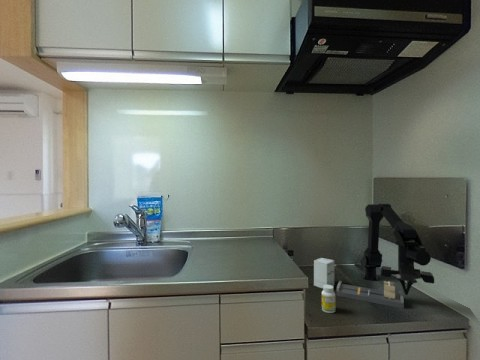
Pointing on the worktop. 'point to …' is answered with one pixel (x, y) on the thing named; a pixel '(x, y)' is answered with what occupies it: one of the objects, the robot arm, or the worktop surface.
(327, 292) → the supplement bottle
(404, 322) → the worktop surface
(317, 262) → the supplement box
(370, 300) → the fader console
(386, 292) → the fader knob
